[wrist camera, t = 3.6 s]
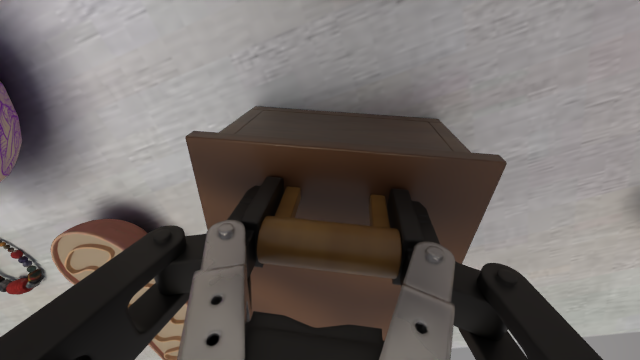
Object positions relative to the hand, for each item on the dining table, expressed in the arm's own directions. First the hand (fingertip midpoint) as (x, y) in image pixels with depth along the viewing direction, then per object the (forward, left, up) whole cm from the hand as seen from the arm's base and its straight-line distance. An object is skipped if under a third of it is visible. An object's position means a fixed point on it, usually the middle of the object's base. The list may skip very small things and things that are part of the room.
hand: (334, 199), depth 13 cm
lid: (0, +6, -1) cm, 6 cm away
